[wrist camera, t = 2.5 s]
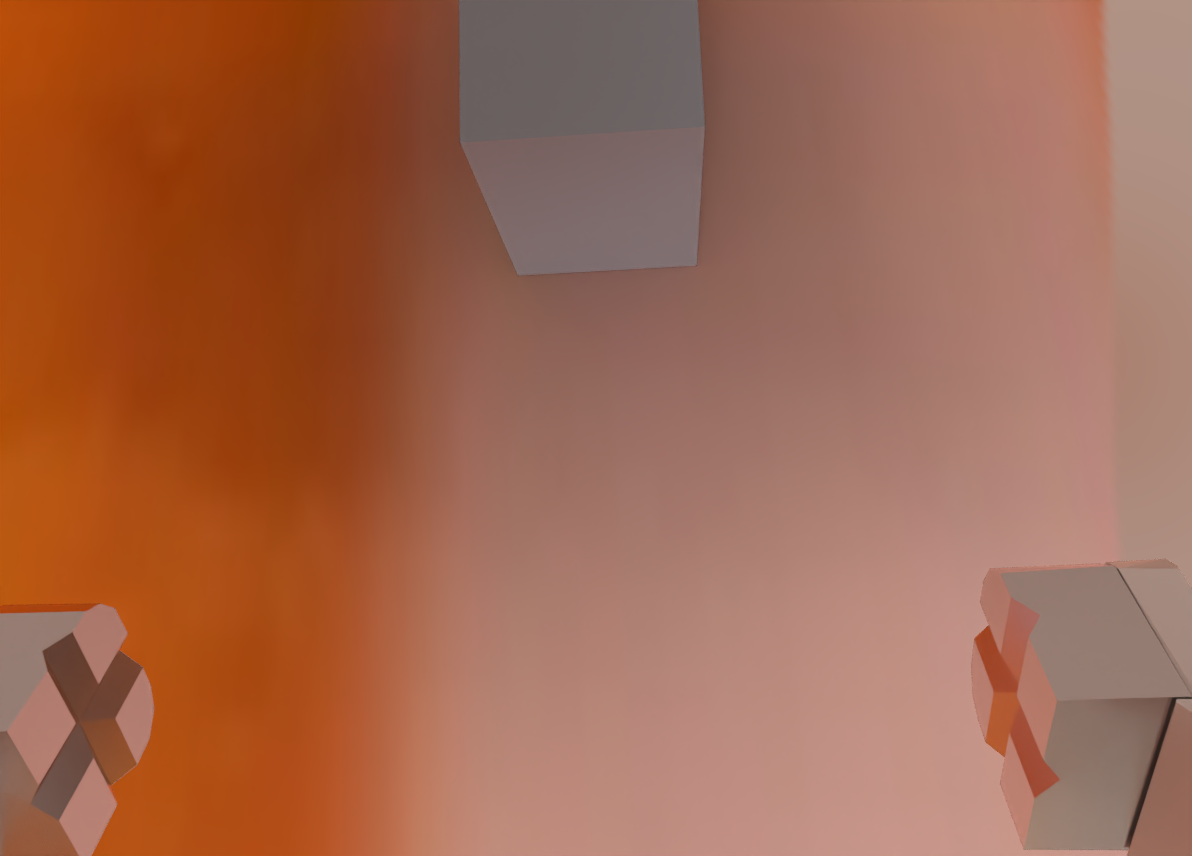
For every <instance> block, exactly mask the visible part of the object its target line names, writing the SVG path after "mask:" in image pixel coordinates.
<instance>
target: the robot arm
mask: <svg viewBox="0 0 1192 856" xmlns="http://www.w3.org/2000/svg"><path fill="white" fill-rule="evenodd" d="M980 604H981V606H982V609H983V611H984V614H985V617H986V619H987V622H988V624H989V625H988V626H987V627H986V628H985V629H984V630H983V631H982V632H981V633H980V634H979V635H978V636H977V637H976V638H975V639H974V645H973V653H972V662H971V675H972V692H973V699H974V704H975V709H976V713H977V718H978V721H979V724H980V727H981V730H982V733H983V736H984V739H985V742H986V743H987V744H989V745H990V746H991V747H992V748H994V749H995V750H996V751H997V752H999V753H1000V754H1001V755H1002V756H1004V757H1005V759H1004V764H1003V770H1002V776H1001V781H1000V785H1001V788H1002V791H1003V793H1004V796H1005V799H1006V802H1007V804H1008V807H1009V810H1010V813H1011V816H1012V818H1013V821H1014V824H1015V827H1016V829H1017V832H1018V835H1019V838H1020V841H1021V843H1022V846H1023V849H1024V850H1129V851H1128V854H1127V855H1128V856H1192V587H1191V585H1190V584H1189V583H1188V581H1187V580H1186V578H1185V577H1184V575H1183V574H1182V572H1181V571H1180V569H1179V568H1178V567H1177V565H1175V564H1173V563H1172V562H1170V561H1168V560H1167V559H1154V560H1136V561H1119V562H1107V563H1105V564H1077V565H1056V566H1034V567H1012V568H991V569H989V571H988V573H987V575H986V577H985V579H984V581H983V587H982V593H981V599H980ZM127 634H128V633H127V631H126V629H125V627H124V625H123V623H122V621H121V619H120V617H119V616H118V614H117V612H116V610H115V608H113V607H109V606H106V605H103V604H36V605H2V606H0V856H91V855H92V853H93V851H94V850H95V848H96V846H97V844H98V842H99V840H100V838H101V836H102V834H103V832H104V830H105V828H106V826H107V824H108V822H109V820H110V818H111V816H112V814H113V812H114V810H115V808H116V806H117V802H116V799H115V795H114V792H113V788H112V784H113V783H115V782H116V781H117V780H118V779H120V778H121V777H122V776H123V775H125V774H126V773H127V772H129V771H130V770H131V769H132V768H134V767H135V766H136V765H137V764H138V762H139V760H140V758H141V756H142V754H143V751H144V749H145V747H146V745H147V743H148V741H149V738H150V732H151V725H152V719H153V713H154V704H153V697H152V690H151V685H150V683H149V680H148V678H147V676H146V673H145V671H144V669H143V667H142V666H140V665H139V664H138V663H136V662H135V661H133V660H132V659H131V658H129V657H128V656H127V655H125V654H124V653H122V652H121V651H120V649H121V647H122V645H123V643H124V641H125V639H126V636H127Z"/></svg>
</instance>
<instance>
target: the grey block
mask: <svg viewBox="0 0 1192 856" xmlns="http://www.w3.org/2000/svg"><path fill="white" fill-rule="evenodd" d="M459 73H460V144H461V146H462V148H463V151H464V153H465V155H466V158H467V160H468V162H469V165H470V167H471V169H472V171H473V174H474V176H475V178H476V181H477V183H478V185H479V188H480V190H481V192H482V194H483V197H484V199H485V201H486V204H487V206H488V208H489V211H490V213H491V215H492V217H493V220H494V222H495V224H496V227H497V229H498V231H499V233H500V236H501V238H502V240H503V243H504V245H505V247H506V250H507V252H508V254H509V256H510V259H511V261H512V263H513V266H514V268H515V270H516V273H517V275H518V276H521V275H539V274H557V273H575V272H593V271H610V270H628V269H646V268H664V267H681V266H697V252H698V235H699V219H700V202H701V185H702V168H703V151H704V135H705V118H704V101H703V83H702V66H701V49H700V31H699V14H698V0H459Z"/></svg>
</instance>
